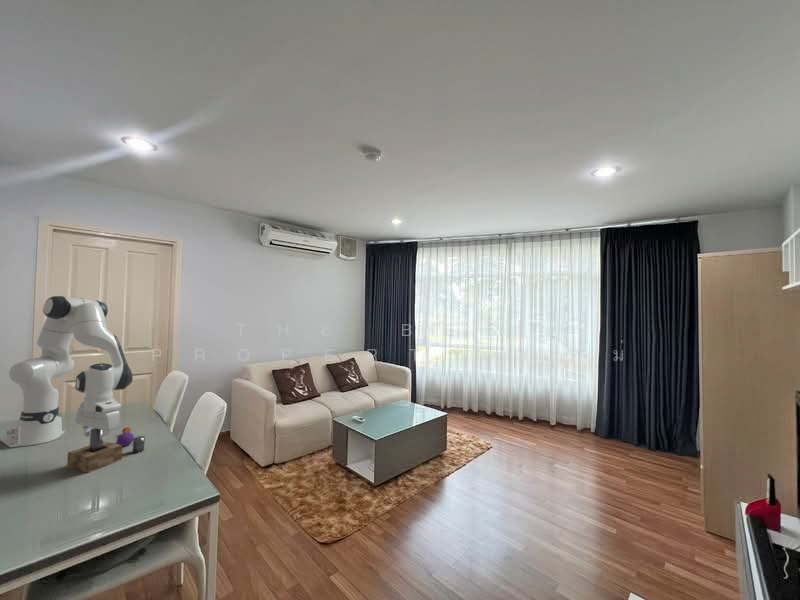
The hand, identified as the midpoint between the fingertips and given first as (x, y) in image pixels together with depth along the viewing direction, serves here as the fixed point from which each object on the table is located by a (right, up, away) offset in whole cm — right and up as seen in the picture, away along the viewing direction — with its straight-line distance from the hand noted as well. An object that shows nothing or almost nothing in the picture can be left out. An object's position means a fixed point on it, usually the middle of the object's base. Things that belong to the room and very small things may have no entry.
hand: (95, 437), depth 133 cm
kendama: (-7, -11, +23) cm, 27 cm away
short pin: (+8, -11, +12) cm, 18 cm away
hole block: (0, -11, 0) cm, 11 cm away
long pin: (0, -11, 0) cm, 11 cm away
